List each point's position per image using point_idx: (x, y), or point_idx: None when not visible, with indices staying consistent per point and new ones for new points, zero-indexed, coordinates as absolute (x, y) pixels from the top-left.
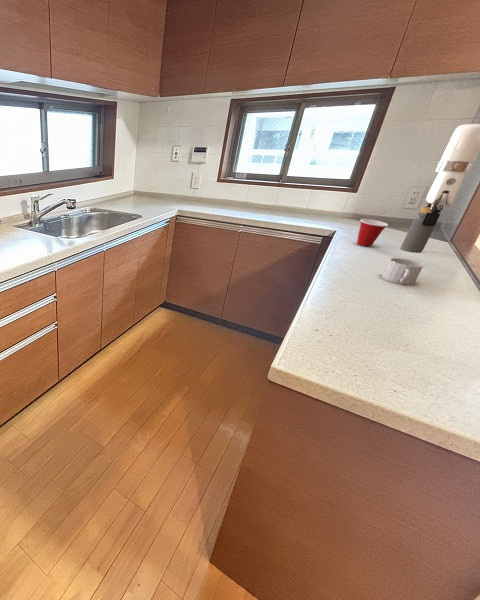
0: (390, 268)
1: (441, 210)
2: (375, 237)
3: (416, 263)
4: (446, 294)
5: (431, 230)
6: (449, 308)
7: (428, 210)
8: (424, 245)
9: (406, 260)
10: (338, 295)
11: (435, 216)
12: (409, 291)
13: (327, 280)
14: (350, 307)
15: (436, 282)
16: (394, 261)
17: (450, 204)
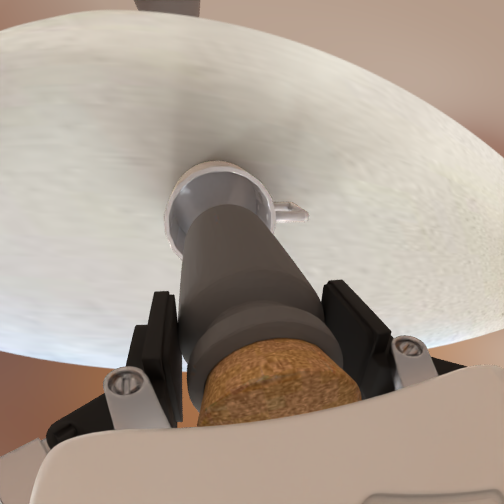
0: None
1: (430, 361)
2: None
3: (186, 182)
4: (281, 91)
5: (289, 257)
6: (394, 124)
7: None
8: (258, 220)
9: (169, 215)
10: (417, 319)
11: (390, 340)
12: (320, 186)
13: None
14: (455, 296)
15: (153, 94)
16: (182, 248)
17: (495, 367)
